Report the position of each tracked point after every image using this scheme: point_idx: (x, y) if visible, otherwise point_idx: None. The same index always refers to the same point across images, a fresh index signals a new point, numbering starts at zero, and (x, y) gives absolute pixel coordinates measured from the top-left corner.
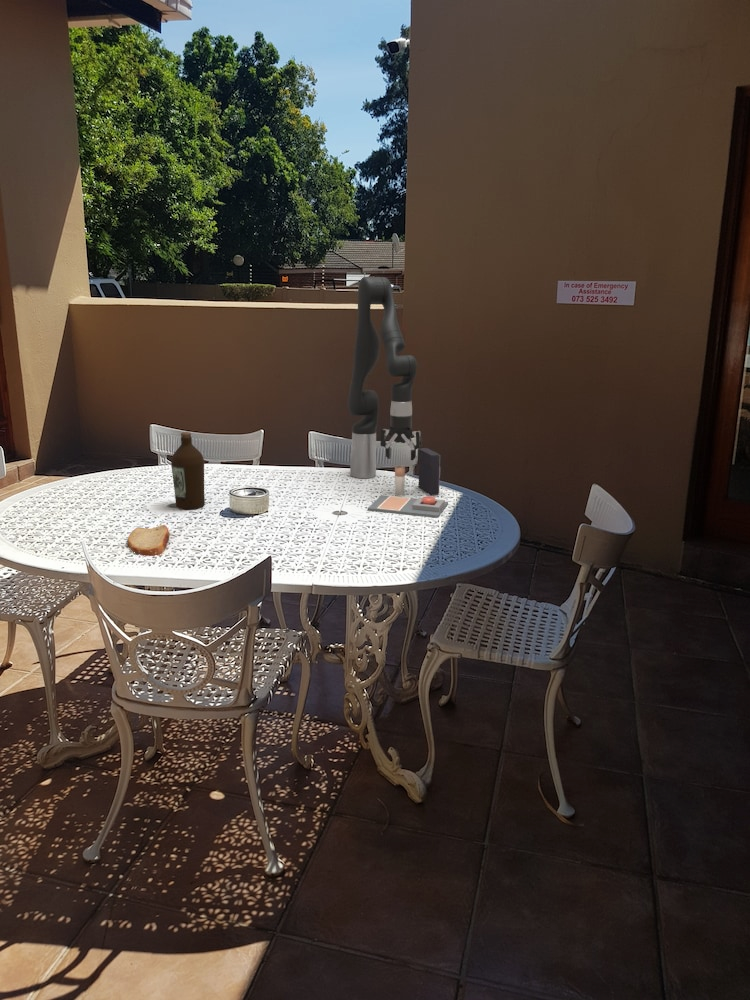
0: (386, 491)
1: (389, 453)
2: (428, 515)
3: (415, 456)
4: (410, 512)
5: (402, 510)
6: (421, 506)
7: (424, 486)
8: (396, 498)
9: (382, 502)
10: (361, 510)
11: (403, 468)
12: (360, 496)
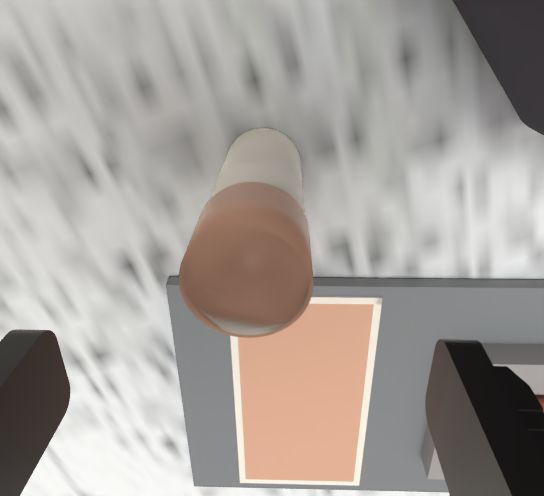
0: (139, 123)
1: (26, 463)
2: None
3: (528, 409)
4: (417, 490)
5: (372, 477)
6: None
7: (475, 12)
8: (289, 326)
9: (231, 402)
10: (169, 480)
11: (301, 311)
12: (37, 294)
